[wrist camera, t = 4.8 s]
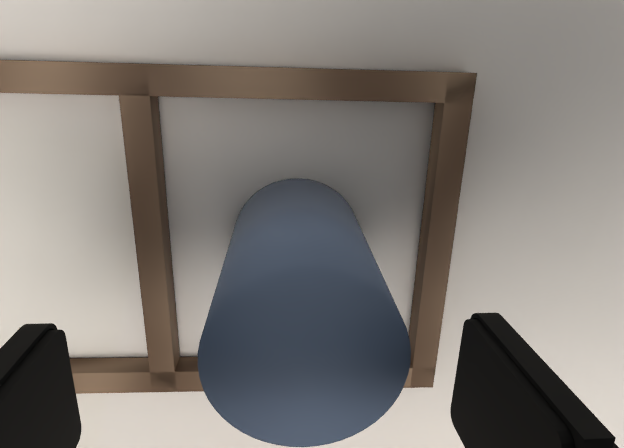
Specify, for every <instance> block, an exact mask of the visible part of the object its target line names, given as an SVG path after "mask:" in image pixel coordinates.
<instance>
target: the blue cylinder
mask: <svg viewBox="0 0 624 448" xmlns="http://www.w3.org/2000/svg"><path fill="white" fill-rule="evenodd" d="M410 362H411V347H410V339H409V336H408V332H407V328H406V326H405V324H404V322H403V319H402V317H401V315H400V313H399V311H398V308H397V306H396V304H395V302H394V300H393V298H392V295H391V293H390V291H389V289H388V287H387V285H386V282H385V280H384V278H383V276H382V274H381V272H380V269H379V267H378V265H377V263H376V261H375V259H374V256H373V254H372V252H371V250H370V248H369V246H368V243H367V241H366V239H365V237H364V235H363V233H362V230H361V228H360V226H359V224H358V222H357V219H356V217H355V215H354V213H353V211H352V209H351V207H350V206H349V204H348V203H347V202H346V201H345V199H344V198H343V197H342V196H341V195H340V194H339V193H337V192H336V191H335V190H333V189H332V188H330V187H328V186H326V185H324V184H322V183H319V182H316V181H313V180H308V179H286V180H281V181H278V182H275V183H272V184H270V185H268V186H265V187H264V188H262V189H261V190H259V191H258V192H256V193H255V194H254V195H253V196H252V197H251V198H250V199H249V200H248V201H247V202H246V204H245V205H244V207H243V208H242V210H241V212H240V214H239V216H238V218H237V221H236V224H235V228H234V231H233V234H232V238H231V241H230V244H229V247H228V251H227V254H226V257H225V261H224V264H223V267H222V270H221V274H220V277H219V280H218V284H217V287H216V290H215V293H214V297H213V300H212V303H211V307H210V310H209V313H208V317H207V320H206V323H205V326H204V330H203V333H202V336H201V340H200V344H199V350H198V371H199V378H200V381H201V384H202V387H203V390H204V392H205V394H206V396H207V398H208V400H209V401H210V403H211V404H212V406H213V407H214V409H215V410H216V411H217V412H218V413H219V414H220V415H221V416H222V417H223V418H224V419H225V420H226V421H227V422H228V423H230V424H231V425H232V426H233V427H235V428H236V429H238V430H240V431H241V432H243V433H245V434H247V435H249V436H251V437H253V438H255V439H258V440H261V441H264V442H267V443H271V444H276V445H281V446H289V447H310V446H319V445H325V444H330V443H333V442H337V441H340V440H343V439H346V438H348V437H351V436H353V435H355V434H357V433H359V432H361V431H363V430H364V429H366V428H367V427H369V426H370V425H372V424H373V423H375V422H376V421H377V420H378V419H379V418H380V417H382V416H383V415H384V414H385V413H386V412H387V411H388V409H389V408H390V407H391V406H392V405H393V403H394V402H395V401H396V399H397V398H398V396H399V395H400V393H401V391H402V389H403V387H404V385H405V382H406V379H407V376H408V373H409V368H410Z"/></svg>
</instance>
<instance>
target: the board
mask: <svg viewBox="0 0 624 448" xmlns="http://www.w3.org/2000/svg"><path fill="white" fill-rule="evenodd" d="M476 77H477V73H463V72H426V71H390V70H353V69H317V68H280V67H244V66H207V65H171V64H134V63H98V62H61V61H25V60H0V93H39V94H83V95H119V101H120V110H121V119H122V128H123V137H124V146H125V155H126V164H127V173H128V182H129V191H130V199H131V208H132V217H133V226H134V235H135V244H136V253H137V262H138V271H139V280H140V289H141V298H142V306H143V315H144V324H145V333H146V342H147V351H148V358H70V364H71V370H72V375H73V381H74V387H75V393H129V392H187V391H204V390H203V387H202V384H201V381H200V378H199V371H198V357H180V353H179V341H178V329H177V318H176V306H175V294H174V282H173V270H172V258H171V247H170V235H169V223H168V211H167V199H166V187H165V176H164V164H163V152H162V140H161V128H160V116H159V105H158V96H170V97H213V98H257V99H300V100H344V101H387V102H431V103H435V109H434V118H433V126H432V135H431V144H430V153H429V162H428V170H427V179H426V188H425V197H424V205H423V214H422V223H421V232H420V241H419V249H418V258H417V267H416V276H415V285H414V293H413V302H412V311H411V320H410V329H409V339H410V347H411V362H410V368H409V373H408V376H407V379H406V382H405V385H404V387H403V388H415V387H433V382H434V375H435V368H436V361H437V354H438V347H439V339H440V332H441V325H442V318H443V311H444V304H445V297H446V290H447V283H448V276H449V268H450V261H451V254H452V247H453V240H454V233H455V226H456V219H457V212H458V204H459V197H460V190H461V183H462V176H463V169H464V162H465V155H466V148H467V140H468V133H469V126H470V119H471V112H472V105H473V98H474V91H475V84H476Z"/></svg>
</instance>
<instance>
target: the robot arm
mask: <svg viewBox="0 0 624 448" xmlns="http://www.w3.org/2000/svg"><path fill="white" fill-rule="evenodd" d="M451 419H452V422H453V425H454V427H455V429H456V431H457V433H458V435H459V437H460V439H461V441H462V443H463V444H464V446H465V448H619V447H618V446H617V445H616V444H615V443H614V441H615V437H614V436H613V435H612V434H611V433H610V431H609V430H608V429H607V428H606V427H605V426H604V425H603V424H602V423H601V422H600V421H599V420H598V419H597V418H596V416H595V415H594V414H593V413H592V412H591V411H590V410H589V409H588V408H587V407H586V406H585V405H584V404H583V403H582V401H581V400H580V399H579V398H578V397H577V396H576V395H575V394H574V393H573V392H572V391H571V390H570V389H569V388H568V387H567V385H566V384H565V383H564V382H563V381H562V380H561V379H560V378H559V377H558V376H557V375H556V374H555V373H554V372H553V370H552V369H551V368H550V367H549V366H548V365H547V364H546V363H545V362H544V361H543V360H542V359H541V358H540V357H539V355H538V354H537V353H536V352H535V351H534V350H533V349H532V348H531V347H530V346H529V345H528V344H527V343H526V342H525V341H524V339H523V338H522V337H521V336H520V335H519V334H518V333H517V332H516V331H515V330H514V329H513V328H512V327H511V326H510V324H509V323H508V322H507V321H506V320H505V319H504V318H503V317H502V316H501V315H500V314H499V313H474V314H473V315H472V316H471V319H467V320H465V322H464V326H463V332H462V339H461V345H460V352H459V358H458V365H457V371H456V377H455V384H454V390H453V397H452V403H451ZM80 435H81V421H80V415H79V410H78V404H77V398H76V393H75V387H74V381H73V375H72V370H71V364H70V358H69V353H68V347H67V341H66V336H65V333H64V331H63V330H57V327H56V326H55V325H54V324H52V323H51V324H25V325H23V326H22V327H21V328H20V329H19V330H18V331H17V332H16V333H15V334H14V335H13V336H12V337H11V338H10V339H9V340H8V341H7V342H6V343H5V344H4V345H3V346H2V347H1V349H0V448H76V446H77V444H78V442H79V439H80Z"/></svg>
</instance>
